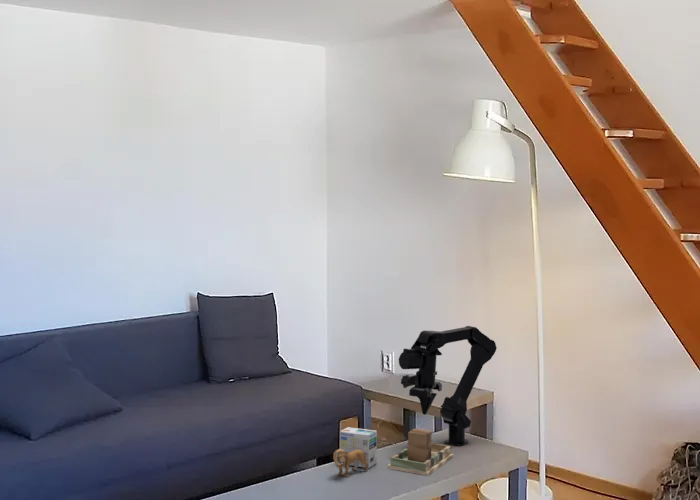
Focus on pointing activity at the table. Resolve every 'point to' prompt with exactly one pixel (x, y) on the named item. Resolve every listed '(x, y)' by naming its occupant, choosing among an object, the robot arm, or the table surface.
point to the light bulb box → (360, 443)
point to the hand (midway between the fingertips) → (424, 414)
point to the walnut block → (419, 445)
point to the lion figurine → (349, 460)
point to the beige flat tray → (438, 458)
